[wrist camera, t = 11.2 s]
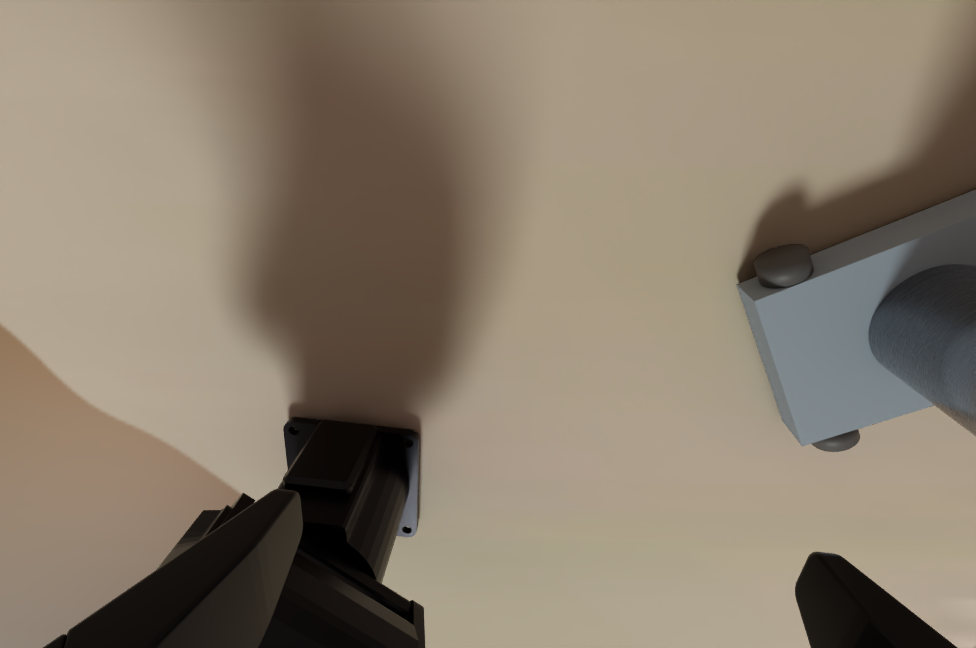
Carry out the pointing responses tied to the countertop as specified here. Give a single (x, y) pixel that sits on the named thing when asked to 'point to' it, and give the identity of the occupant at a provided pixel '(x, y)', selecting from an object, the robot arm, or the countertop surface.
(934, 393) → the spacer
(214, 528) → the robot arm
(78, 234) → the countertop surface
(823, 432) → the cart
